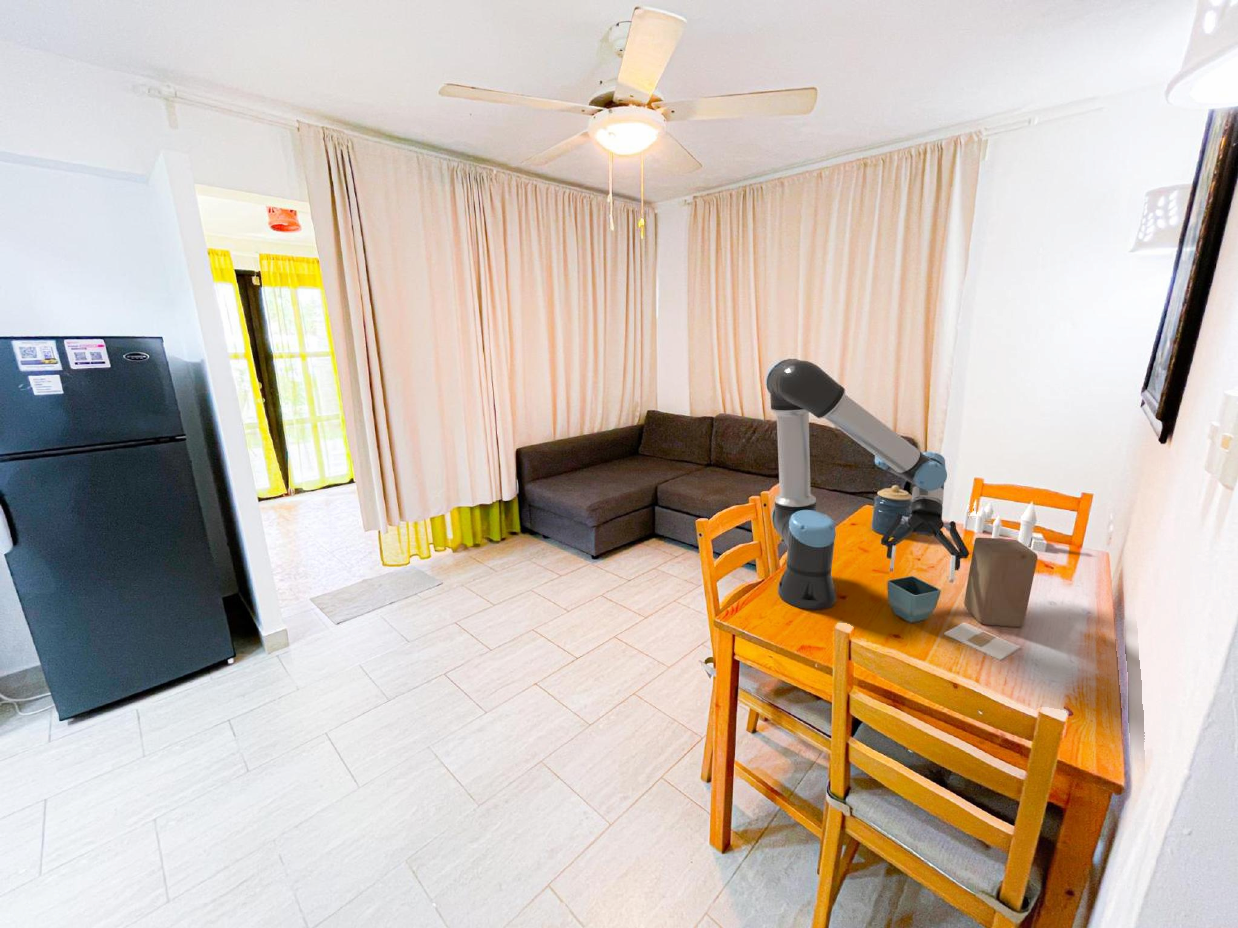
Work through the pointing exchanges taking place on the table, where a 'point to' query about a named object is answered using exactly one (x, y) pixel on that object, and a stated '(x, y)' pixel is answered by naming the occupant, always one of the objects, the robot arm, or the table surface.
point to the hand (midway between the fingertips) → (920, 575)
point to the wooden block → (1000, 581)
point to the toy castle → (1024, 535)
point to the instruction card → (982, 640)
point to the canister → (890, 509)
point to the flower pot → (912, 598)
